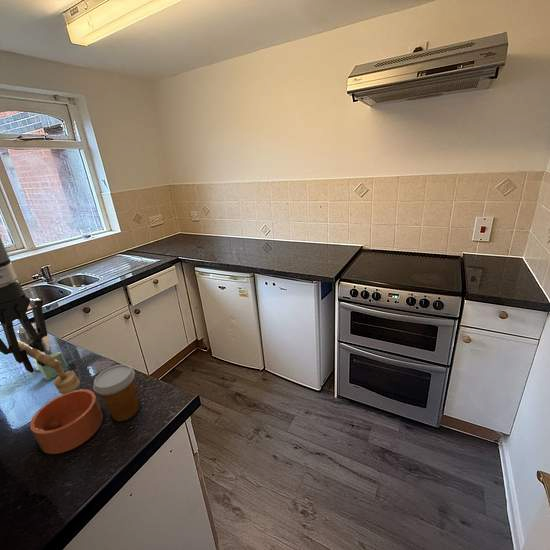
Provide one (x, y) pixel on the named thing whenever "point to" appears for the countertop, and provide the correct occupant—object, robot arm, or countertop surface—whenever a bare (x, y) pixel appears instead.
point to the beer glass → (27, 340)
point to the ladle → (65, 379)
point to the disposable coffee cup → (118, 391)
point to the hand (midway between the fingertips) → (36, 367)
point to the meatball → (54, 425)
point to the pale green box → (50, 372)
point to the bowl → (67, 421)
